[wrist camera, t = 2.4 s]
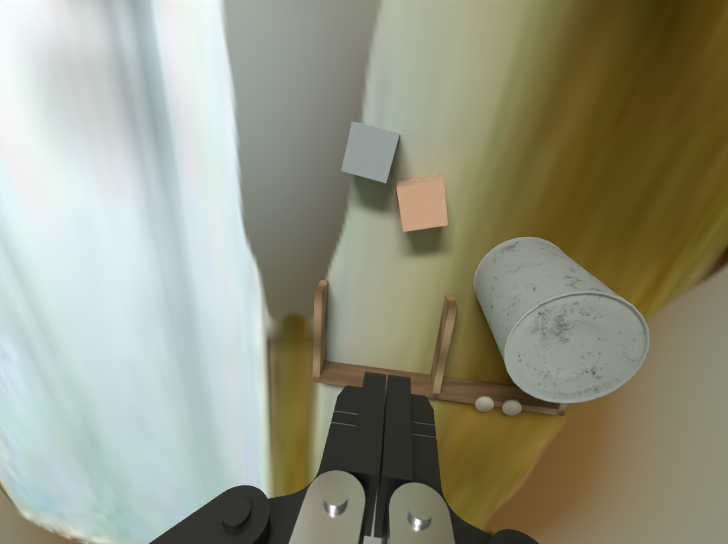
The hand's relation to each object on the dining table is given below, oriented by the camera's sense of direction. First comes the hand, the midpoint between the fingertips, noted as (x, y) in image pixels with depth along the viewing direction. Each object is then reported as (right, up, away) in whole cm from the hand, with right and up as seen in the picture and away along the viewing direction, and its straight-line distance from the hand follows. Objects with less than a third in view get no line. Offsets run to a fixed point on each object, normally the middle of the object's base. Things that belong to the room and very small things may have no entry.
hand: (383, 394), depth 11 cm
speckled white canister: (+16, +3, +24) cm, 29 cm away
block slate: (0, +16, +21) cm, 26 cm away
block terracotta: (+5, +11, +22) cm, 25 cm away
